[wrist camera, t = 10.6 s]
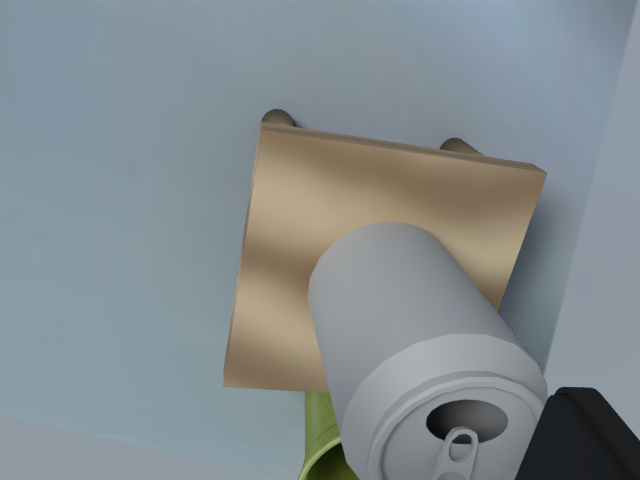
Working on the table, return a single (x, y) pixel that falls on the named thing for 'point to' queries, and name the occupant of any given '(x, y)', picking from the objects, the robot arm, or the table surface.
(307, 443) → the plant pot
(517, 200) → the stool
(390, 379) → the can
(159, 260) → the table surface
